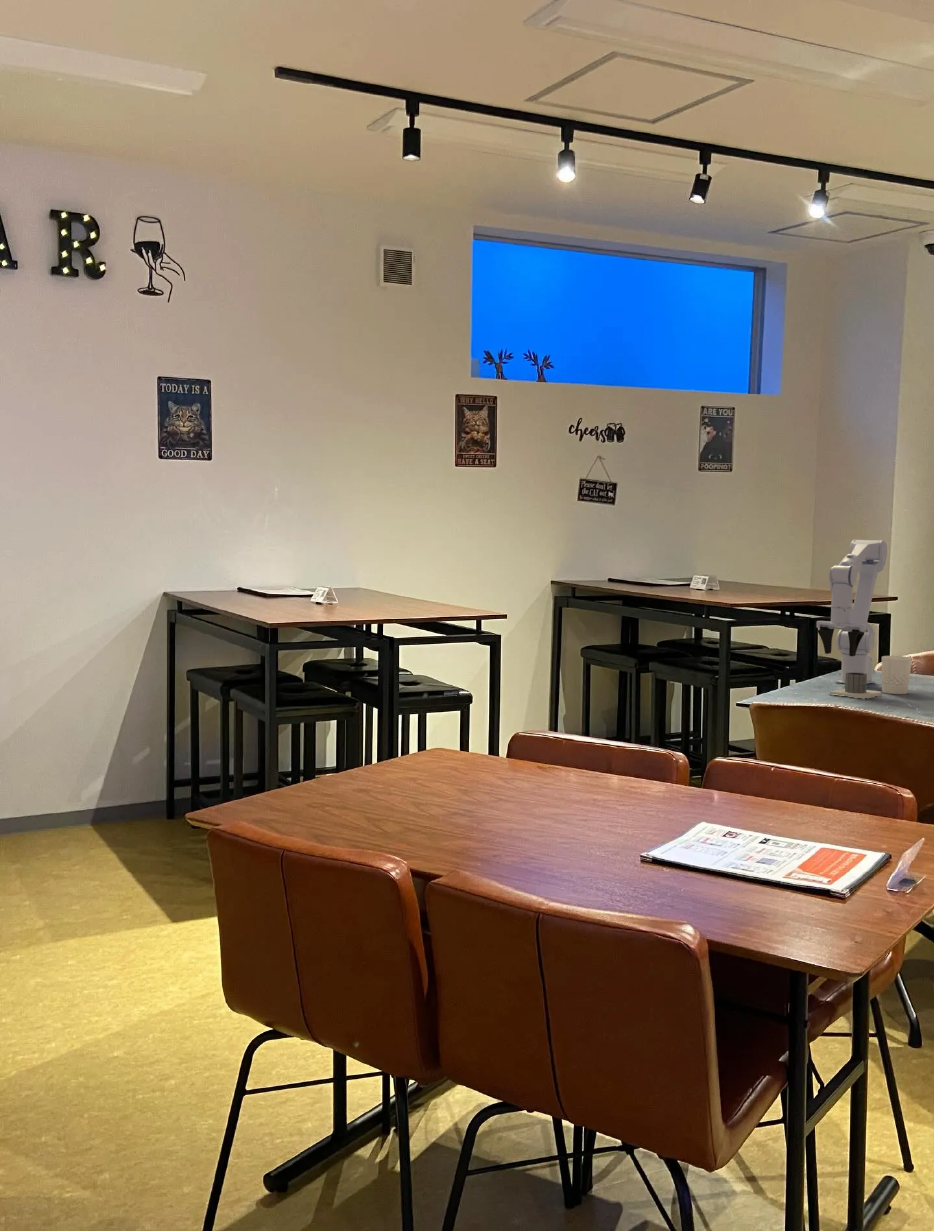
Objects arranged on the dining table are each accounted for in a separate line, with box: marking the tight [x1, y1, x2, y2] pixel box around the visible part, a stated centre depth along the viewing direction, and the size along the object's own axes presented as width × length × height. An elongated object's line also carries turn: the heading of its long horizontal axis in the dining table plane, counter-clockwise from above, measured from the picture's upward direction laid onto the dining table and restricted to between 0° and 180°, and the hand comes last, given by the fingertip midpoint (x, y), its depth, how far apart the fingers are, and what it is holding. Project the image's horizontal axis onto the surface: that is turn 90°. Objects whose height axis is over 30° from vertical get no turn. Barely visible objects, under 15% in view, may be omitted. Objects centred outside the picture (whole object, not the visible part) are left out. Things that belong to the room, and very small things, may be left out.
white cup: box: [881, 655, 912, 695], centre depth 337 cm, size 8×8×10 cm
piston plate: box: [829, 688, 882, 700], centre depth 332 cm, size 10×10×4 cm
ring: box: [844, 672, 868, 693], centre depth 332 cm, size 6×6×5 cm
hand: (840, 654), depth 343 cm, fingers open, 7 cm apart
